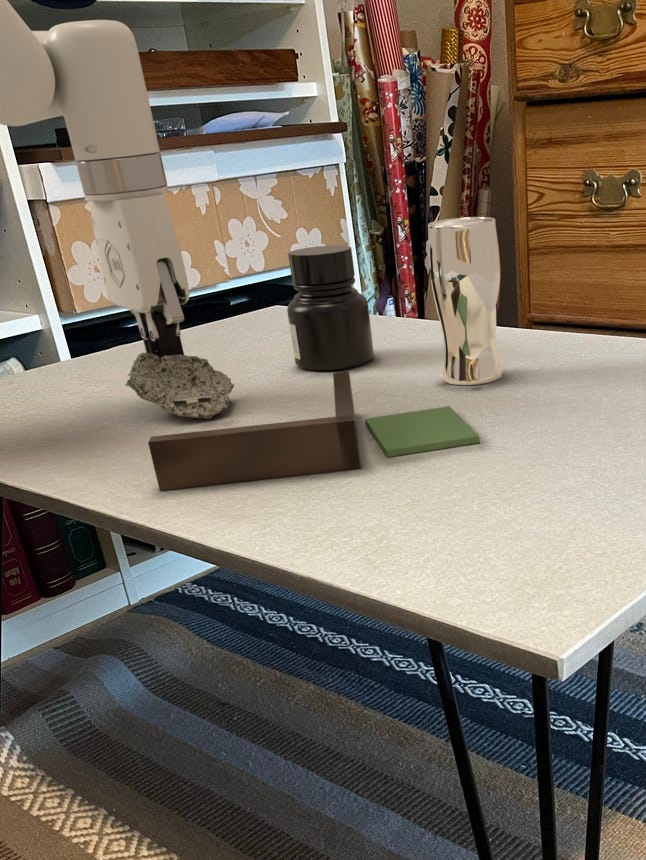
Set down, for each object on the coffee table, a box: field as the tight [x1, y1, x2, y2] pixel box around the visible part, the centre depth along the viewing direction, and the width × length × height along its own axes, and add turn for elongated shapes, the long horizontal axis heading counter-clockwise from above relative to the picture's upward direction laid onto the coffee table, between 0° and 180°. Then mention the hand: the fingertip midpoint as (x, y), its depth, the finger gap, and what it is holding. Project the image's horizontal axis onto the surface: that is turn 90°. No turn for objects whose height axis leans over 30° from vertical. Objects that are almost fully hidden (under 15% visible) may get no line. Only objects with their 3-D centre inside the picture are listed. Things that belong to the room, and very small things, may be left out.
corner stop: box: [147, 370, 362, 492], centre depth 84 cm, size 16×16×4 cm
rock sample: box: [124, 350, 241, 420], centre depth 96 cm, size 10×8×9 cm
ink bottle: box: [286, 244, 375, 371], centre depth 108 cm, size 10×9×12 cm
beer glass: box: [427, 216, 503, 386], centre depth 98 cm, size 7×7×15 cm
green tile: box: [364, 405, 481, 458], centre depth 86 cm, size 8×10×1 cm
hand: (170, 377), depth 99 cm, fingers closed
